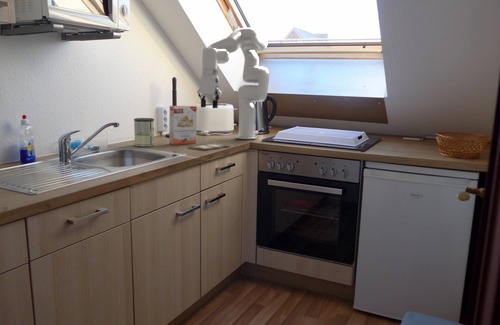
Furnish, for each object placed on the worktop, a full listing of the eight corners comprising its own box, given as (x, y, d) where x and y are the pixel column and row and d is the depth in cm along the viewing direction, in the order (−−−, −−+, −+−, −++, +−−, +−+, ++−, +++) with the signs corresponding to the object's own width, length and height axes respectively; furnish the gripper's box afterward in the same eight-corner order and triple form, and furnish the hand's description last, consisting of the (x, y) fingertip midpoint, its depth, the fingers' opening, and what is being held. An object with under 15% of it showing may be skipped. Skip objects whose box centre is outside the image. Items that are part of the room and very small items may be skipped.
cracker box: (173, 145, 241) (173, 106, 237) (169, 144, 246) (168, 105, 242) (196, 143, 249) (197, 106, 245) (191, 142, 254) (191, 105, 250)
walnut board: (212, 144, 247) (212, 143, 247) (229, 147, 240) (229, 145, 239) (187, 148, 232) (188, 146, 232) (205, 150, 225) (205, 149, 224)
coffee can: (133, 144, 242) (132, 117, 239) (152, 143, 246) (152, 117, 243) (136, 146, 233) (135, 119, 230) (156, 146, 237) (155, 119, 234)
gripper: (227, 73, 227) (226, 108, 230) (202, 73, 237) (201, 106, 240) (217, 72, 221) (217, 108, 224) (192, 72, 231) (191, 106, 234)
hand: (209, 107), depth 232 cm, fingers open, 7 cm apart
